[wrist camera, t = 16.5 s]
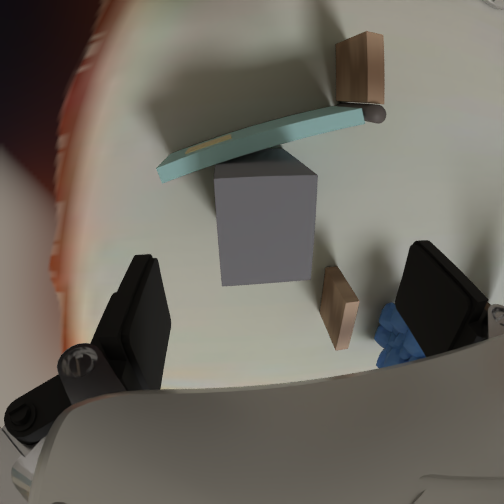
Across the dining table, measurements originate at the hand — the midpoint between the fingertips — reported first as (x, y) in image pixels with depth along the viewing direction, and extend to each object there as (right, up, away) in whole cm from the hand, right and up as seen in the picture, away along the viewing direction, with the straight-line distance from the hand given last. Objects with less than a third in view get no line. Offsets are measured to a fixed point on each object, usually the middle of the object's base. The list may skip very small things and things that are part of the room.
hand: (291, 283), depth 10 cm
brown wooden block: (+6, +6, +14) cm, 16 cm away
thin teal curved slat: (-1, +10, +11) cm, 15 cm away
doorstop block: (-1, +6, +13) cm, 14 cm away
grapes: (+15, -7, +22) cm, 27 cm away
